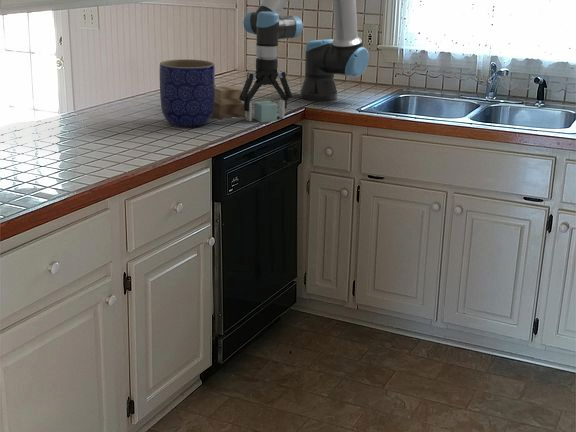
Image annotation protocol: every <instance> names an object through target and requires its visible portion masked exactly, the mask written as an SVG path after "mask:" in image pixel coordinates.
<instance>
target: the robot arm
mask: <svg viewBox="0 0 576 432" xmlns="http://www.w3.org/2000/svg"><path fill="white" fill-rule="evenodd" d="M289 1H290V0H263V1H262V2H260V5H259V6H258V8H256V11H251V12H248V13H246V15H245V16H244V19H243V21H242V23H243V27H244V30H245V31H246V32H247V33H249V34H253V35H255V36H256V43H255V44H256V46H255V49H256V50H255V57H256V58H255V73H253V72H247V73H246V80H245V83H244V85H243V87H242V89H241V95H240V97H239V99H240V100H241V102H243V103H244V110H245V117H246V121H248V122H252V120H253V119H252V116H253V115H252V112H253V110H252V109H253V106H252V105H253V102H251V100H252V99H253V97H254V96H255V94H256V93H257V92H258V90H259V89H260V88H261V87H262V86H271V85H272V86H273V88H274V89H275V91H276V92H277V94H278V95H279V96H280V99H279V108H278V109H279V111H278V113H279V114H278V117H279V119H283V120H284V119H285V110H286V109H287V107H288V105H287V104H288V101H289V100H290V99H292V97H293V94H292V91H291V89H290V87H289V83H288V81H287V78H286V75H287V74H286V71H284V70H283V71H282V70H280V71H278V64H279V63H278V61H279V60H278V59H277V58H278V56H279V40H285V39H294V38H298V37H299V36H300V35H302V33H303V30H304V23H303V21H302V19H301V18H300V17H299V16H297V15H289V16H288V15H280V14H281V13H282V11H283V9H284V8H285V7H286V5H287V4H288V2H289ZM332 7H333V21H334V22H333V23H334V36H335V37H334V38H330V39H329V38H327V39H316V40H310V41H307V43H306V46H305V56H304V57H305V61H304V62H305V63H304V64H305V66H304V79H303V82H302V86H301V88H300V90H299V98H301V99H304V100H306V101H308V100H309V101H316V102H317V101H318V102H319V101H320V102H327V101H328V102H329V101H334V100H337V99H338V91H337V90H338V89H337V87H336V83H335V75H336V76H337V75H338V76H343V77H347V78H358V77H360V76H362V75H363V74H364V73H365V71H366V69H367V67H368V65H369V62H370V61H369V60H370V53H369V50H368V49H367V48H365V47H364V46H363V41H362V38H360V37H359V36H358V34H359V33H358V21H357V20H358V19H357V18H358V17H357V16H358V15H357V0H332ZM277 78H279V80H280V83H281V86H282V87H281V86H280V84H279V82H278V81H277ZM254 79H256V80H255V81H254ZM253 82H254V84H253ZM282 88H283V89H282Z"/></svg>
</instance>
